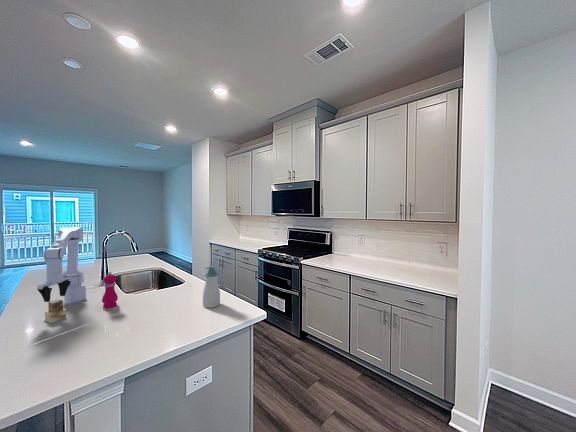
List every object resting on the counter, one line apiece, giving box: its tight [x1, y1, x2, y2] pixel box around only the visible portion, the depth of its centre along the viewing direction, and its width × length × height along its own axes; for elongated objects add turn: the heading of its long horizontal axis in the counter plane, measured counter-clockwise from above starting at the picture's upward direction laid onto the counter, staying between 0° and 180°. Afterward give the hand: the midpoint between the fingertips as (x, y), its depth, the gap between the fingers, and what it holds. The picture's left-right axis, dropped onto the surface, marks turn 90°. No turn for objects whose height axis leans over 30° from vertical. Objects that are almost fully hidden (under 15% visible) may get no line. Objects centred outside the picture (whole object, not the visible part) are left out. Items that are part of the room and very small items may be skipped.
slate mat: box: [43, 315, 68, 323], centre depth 127 cm, size 12×14×1 cm
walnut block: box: [47, 298, 64, 312], centre depth 123 cm, size 4×4×4 cm
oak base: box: [44, 307, 67, 323], centre depth 123 cm, size 6×6×4 cm
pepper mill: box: [101, 271, 119, 309], centre depth 138 cm, size 7×7×20 cm
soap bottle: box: [202, 265, 221, 309], centre depth 143 cm, size 10×10×23 cm
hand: (55, 298), depth 123 cm, fingers open, 7 cm apart
